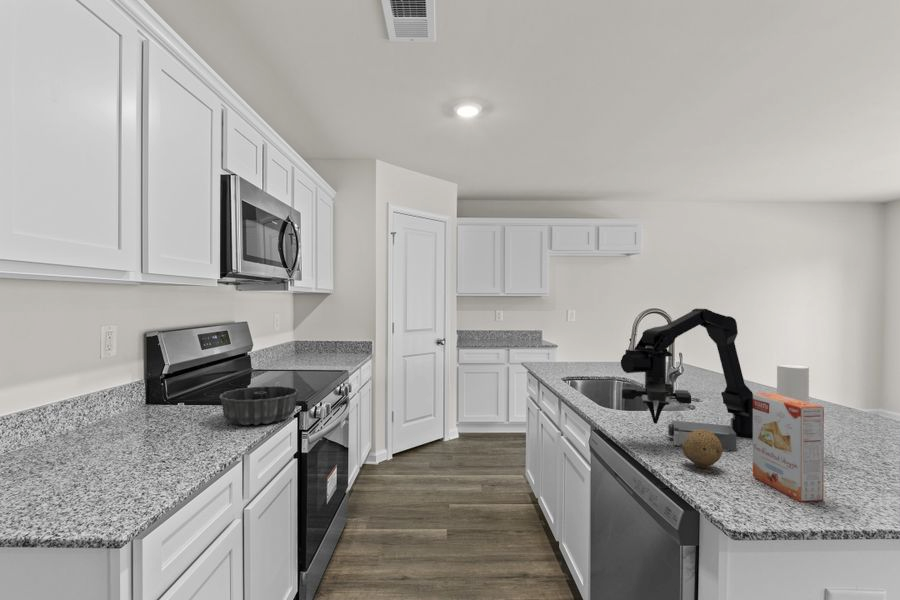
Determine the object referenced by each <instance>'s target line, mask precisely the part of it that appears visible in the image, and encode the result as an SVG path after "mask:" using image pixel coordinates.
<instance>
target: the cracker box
mask: <svg viewBox="0 0 900 600" xmlns="http://www.w3.org/2000/svg"><path fill="white" fill-rule="evenodd" d="M824 408H825V407H824V406H822V405H818V404H814V403H812V402H809V403H808V402H804V401H800V400H797V399H793V398H790V397H786V396H782V395H779V394H777V393H775V392H756V393H755V392H754V393H753V437H752V477H753V478H755V479H757V480H759V481H761V482H762V483H765V484H767V485H768V486H770V487H772V488H774V489H776V490H778V491H780V493H783V494H785V495H787V496H789V497H791V498H793V499H794V500H796V501H798V502H800V503H802V502H803V503H804V502H818V501H819V502H820V501H824V495H825V494H824V486H825V485H824V480H825V479H824V478H825V477H824V475H825V474H824V473H825V472H824V471H825V469H824V468H825V467H824V463H825V462H824V460H825V459H824V456H825V452H824V451H825V449H824V447H825V446H824V445H825V443H824V442H825V435H824V434H825V425H824V424H825V409H824Z"/></svg>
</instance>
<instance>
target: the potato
mask: <svg viewBox="0 0 900 600" xmlns="http://www.w3.org/2000/svg"><path fill="white" fill-rule="evenodd" d="M681 451H682V454H683V455H684V457H685V458H686V459H687V460H689V461H690V462H691V463H692V464H693V465H695V466H696V467H699V468H700V469H706V468H709V467H711V466H713V465H714V464H716V463H717V462H718V461H719V460H720V459H721V458H722V456H723V451H722V445H721V443H720V441H719V439H718V438H717V437H716V436H715V435H714V434H713V433H712V432H710V431H707V430H703V429H698V430H695V431H693V432H691V433H690V434H689V435H688V436H687V438H686V440H685V442H684V443H683V446H681Z"/></svg>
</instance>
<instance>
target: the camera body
mask: <svg viewBox="0 0 900 600" xmlns="http://www.w3.org/2000/svg"><path fill="white" fill-rule="evenodd" d="M667 428H668V429H667V430H668V437H672V440H673V442H674V431H687V432H693V431H695V430H698V429H703V430H707V431H710V432H712V433H713V434H714V435H715V436H716V437H717V438H718V439H719V441H720V443H721V445H722V452H727V451H728V452H730V451H729V450H731V451H732V452H737V436H736V433H735V432H734V430H733V429H732V428H731V425H728V424H727V425H726V424H715V423H703V422H695V421H694V422H692V421H684V420H683V421H681V420H671V423H668V427H667ZM677 446H678V447H682V446H683V444H679V445H677Z"/></svg>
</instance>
